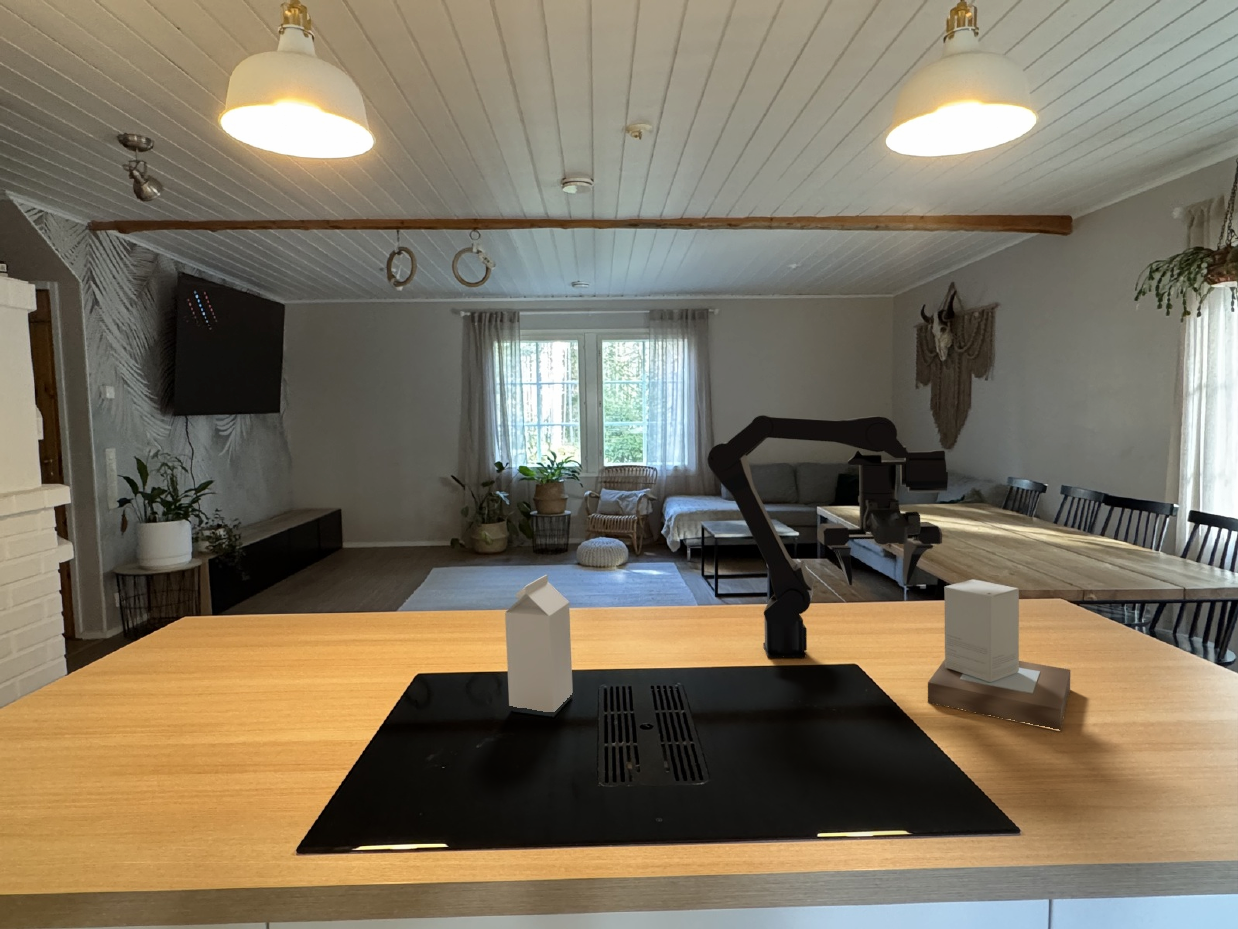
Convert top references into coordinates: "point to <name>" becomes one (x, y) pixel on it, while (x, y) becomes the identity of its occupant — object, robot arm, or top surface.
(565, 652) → the milk carton
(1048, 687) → the plinth
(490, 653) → the top surface
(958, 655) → the supplement box
